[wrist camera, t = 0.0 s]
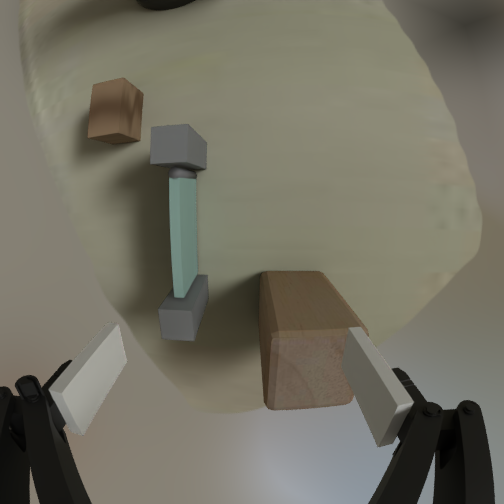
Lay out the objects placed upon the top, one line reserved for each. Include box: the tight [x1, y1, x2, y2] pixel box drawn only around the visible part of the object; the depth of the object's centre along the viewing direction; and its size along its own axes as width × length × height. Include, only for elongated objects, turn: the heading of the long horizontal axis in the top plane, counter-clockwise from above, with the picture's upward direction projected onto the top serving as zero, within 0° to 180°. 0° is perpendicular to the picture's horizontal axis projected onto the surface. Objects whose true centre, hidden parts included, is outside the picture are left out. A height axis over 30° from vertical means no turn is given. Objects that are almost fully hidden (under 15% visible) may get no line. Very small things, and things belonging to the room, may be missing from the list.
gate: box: [168, 167, 198, 298], centre depth 36 cm, size 15×1×10 cm, turn 179°
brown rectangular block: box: [87, 78, 144, 144], centre depth 33 cm, size 8×5×8 cm, turn 179°
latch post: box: [158, 275, 208, 341], centre depth 37 cm, size 4×4×13 cm
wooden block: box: [259, 271, 369, 410], centre depth 34 cm, size 10×10×20 cm
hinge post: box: [150, 124, 207, 170], centre depth 32 cm, size 4×4×13 cm
